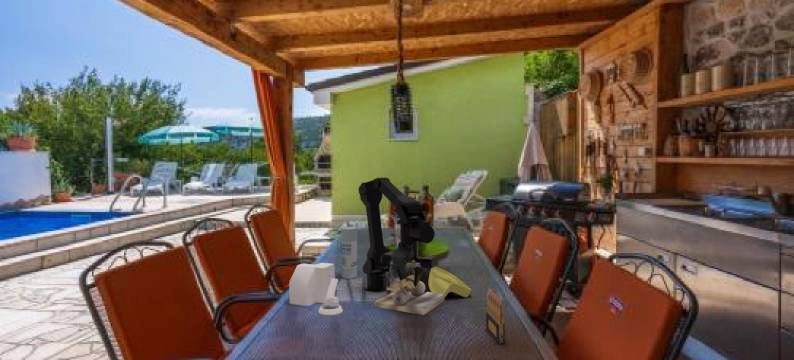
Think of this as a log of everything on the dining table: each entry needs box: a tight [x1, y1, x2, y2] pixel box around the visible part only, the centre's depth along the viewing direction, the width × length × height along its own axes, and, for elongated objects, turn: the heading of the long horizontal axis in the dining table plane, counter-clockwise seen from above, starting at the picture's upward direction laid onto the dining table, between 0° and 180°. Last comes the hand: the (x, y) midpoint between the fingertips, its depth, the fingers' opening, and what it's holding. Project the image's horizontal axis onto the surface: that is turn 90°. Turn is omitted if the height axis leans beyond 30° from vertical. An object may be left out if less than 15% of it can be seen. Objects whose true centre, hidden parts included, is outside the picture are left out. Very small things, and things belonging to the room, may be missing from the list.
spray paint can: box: [340, 226, 358, 280], centre depth 199 cm, size 6×6×20 cm
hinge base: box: [373, 280, 445, 316], centre depth 164 cm, size 18×16×6 cm
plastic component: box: [427, 266, 472, 299], centre depth 178 cm, size 20×7×10 cm
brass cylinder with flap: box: [386, 274, 419, 292], centre depth 165 cm, size 6×9×4 cm, turn 61°
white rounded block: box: [288, 262, 336, 307], centre depth 168 cm, size 11×11×12 cm
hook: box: [317, 278, 343, 316], centre depth 159 cm, size 8×12×7 cm
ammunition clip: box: [485, 288, 506, 345], centre depth 134 cm, size 11×2×12 cm, turn 7°
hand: (409, 285), depth 164 cm, fingers closed on brass cylinder with flap, 4 cm apart
